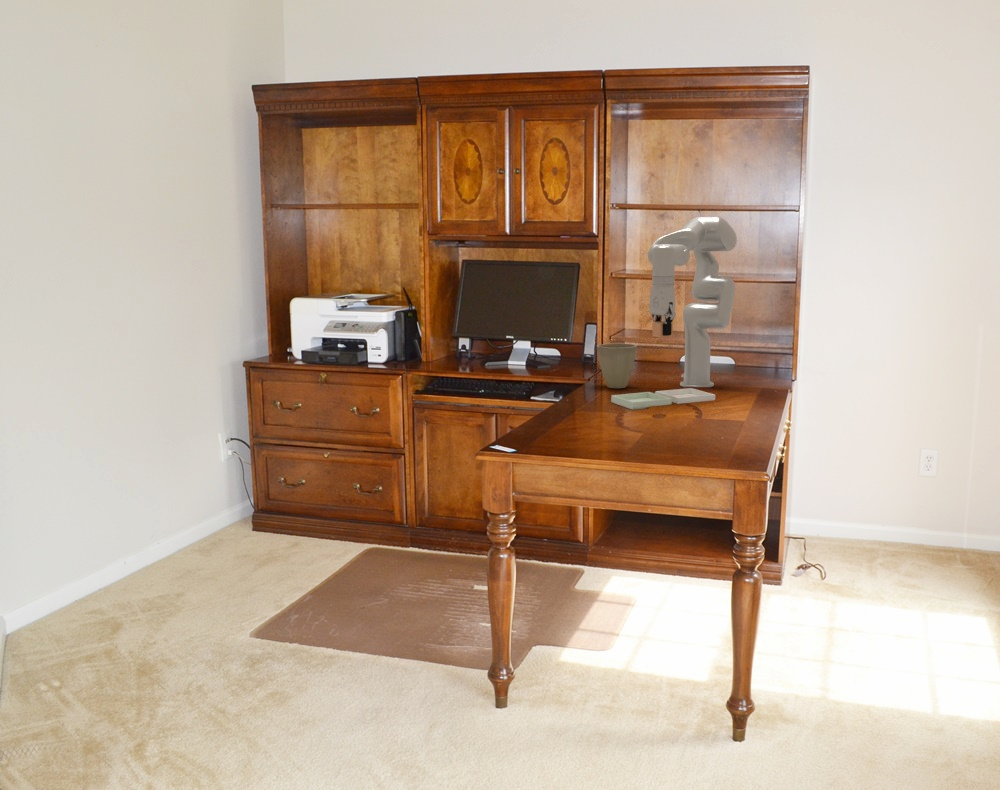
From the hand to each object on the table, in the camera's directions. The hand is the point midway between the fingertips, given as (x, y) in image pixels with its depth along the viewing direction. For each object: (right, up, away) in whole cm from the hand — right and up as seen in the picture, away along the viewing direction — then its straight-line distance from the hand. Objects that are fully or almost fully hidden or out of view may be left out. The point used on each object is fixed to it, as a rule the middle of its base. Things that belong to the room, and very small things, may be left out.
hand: (662, 334), depth 329 cm
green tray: (-8, -24, -2) cm, 26 cm away
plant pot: (-12, -18, +34) cm, 40 cm away
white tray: (+9, -23, +4) cm, 25 cm away
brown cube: (0, -1, 0) cm, 1 cm away
